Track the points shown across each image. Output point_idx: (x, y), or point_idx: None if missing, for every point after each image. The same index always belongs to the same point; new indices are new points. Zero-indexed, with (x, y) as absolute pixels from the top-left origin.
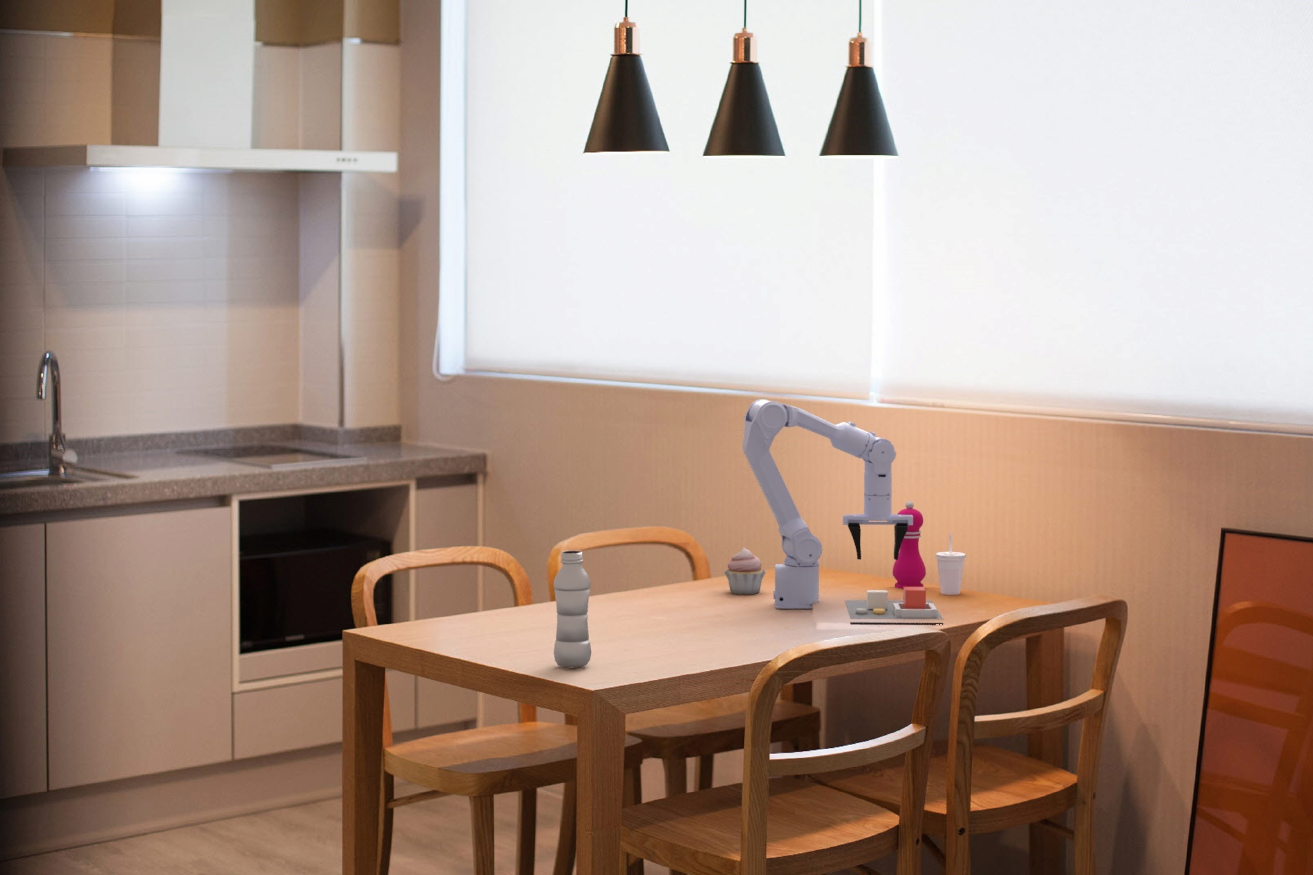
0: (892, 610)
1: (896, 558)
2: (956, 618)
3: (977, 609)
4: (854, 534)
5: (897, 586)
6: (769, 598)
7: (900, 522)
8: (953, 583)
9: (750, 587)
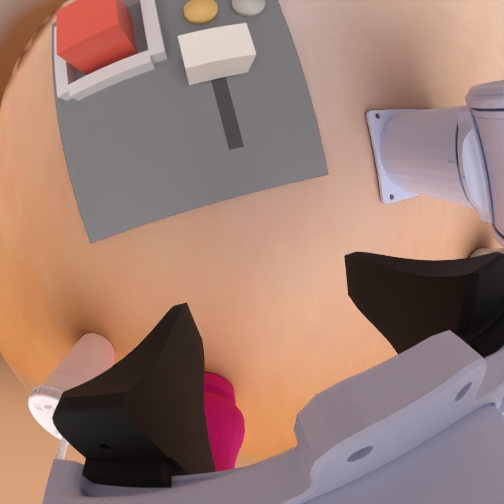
0: (168, 56)
1: (177, 305)
2: (30, 110)
3: (13, 239)
4: (461, 262)
5: (224, 386)
6: (453, 229)
7: (139, 490)
8: (69, 353)
9: (480, 254)
